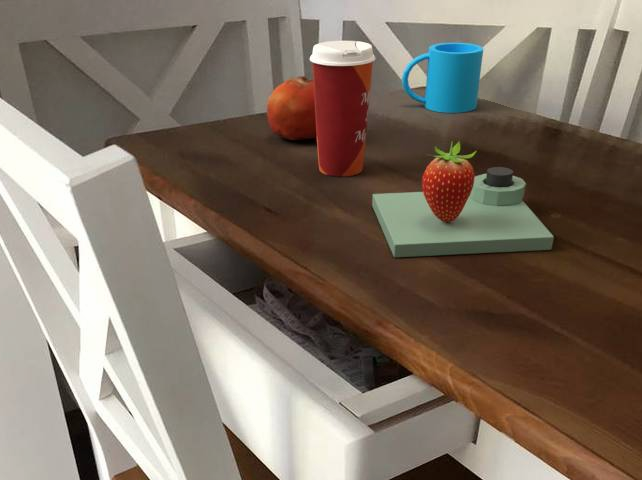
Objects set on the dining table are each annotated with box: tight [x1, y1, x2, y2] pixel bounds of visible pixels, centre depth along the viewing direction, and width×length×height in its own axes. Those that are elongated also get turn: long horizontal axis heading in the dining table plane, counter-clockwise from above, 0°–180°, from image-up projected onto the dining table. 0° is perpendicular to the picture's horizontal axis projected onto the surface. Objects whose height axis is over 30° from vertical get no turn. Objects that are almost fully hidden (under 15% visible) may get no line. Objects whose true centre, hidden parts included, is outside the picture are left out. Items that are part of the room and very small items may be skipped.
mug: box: [401, 42, 484, 114], centre depth 114 cm, size 12×8×8 cm
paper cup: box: [309, 40, 377, 178], centre depth 89 cm, size 8×8×14 cm
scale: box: [371, 173, 555, 258], centre depth 78 cm, size 16×14×3 cm
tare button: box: [485, 166, 514, 188], centre depth 80 cm, size 3×3×2 cm
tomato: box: [266, 75, 317, 141], centre depth 102 cm, size 9×9×8 cm
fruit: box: [421, 140, 477, 222], centre depth 74 cm, size 5×5×8 cm
